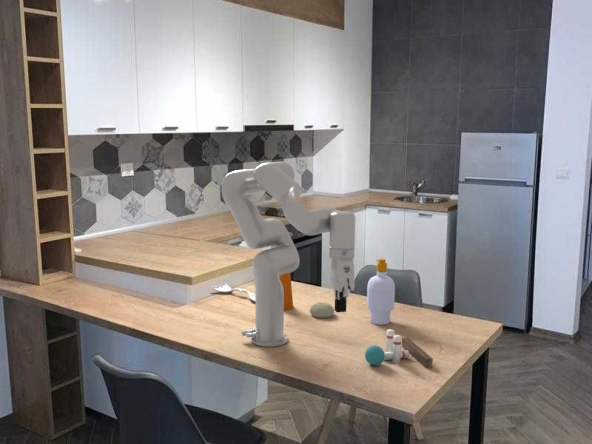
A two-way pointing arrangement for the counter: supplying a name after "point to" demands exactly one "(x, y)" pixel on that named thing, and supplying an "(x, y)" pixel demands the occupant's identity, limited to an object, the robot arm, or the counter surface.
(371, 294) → the soap bottle
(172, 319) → the counter surface
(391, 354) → the front pin
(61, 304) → the counter surface
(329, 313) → the sea urchin shell
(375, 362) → the ball
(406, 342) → the back wall
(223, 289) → the white fork
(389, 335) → the pin
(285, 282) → the spray bottle
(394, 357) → the pin
